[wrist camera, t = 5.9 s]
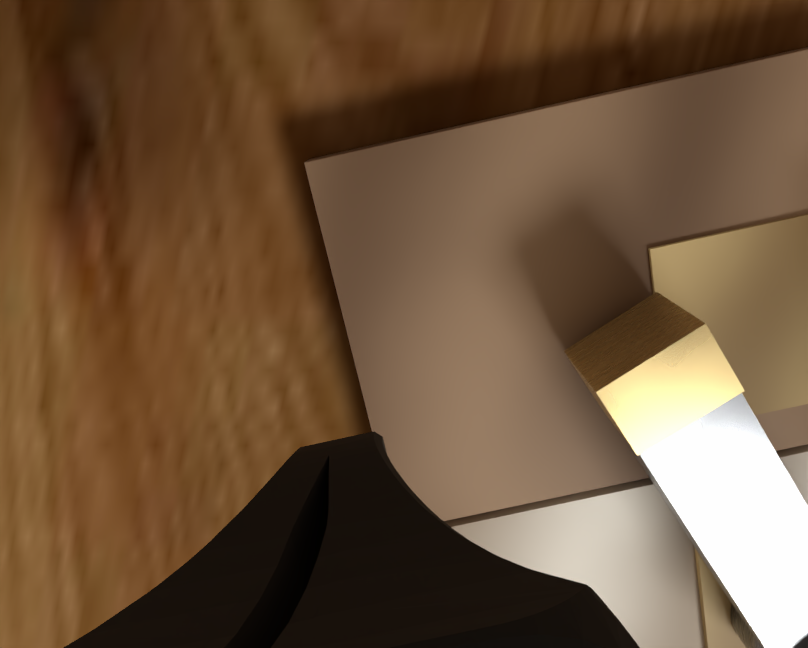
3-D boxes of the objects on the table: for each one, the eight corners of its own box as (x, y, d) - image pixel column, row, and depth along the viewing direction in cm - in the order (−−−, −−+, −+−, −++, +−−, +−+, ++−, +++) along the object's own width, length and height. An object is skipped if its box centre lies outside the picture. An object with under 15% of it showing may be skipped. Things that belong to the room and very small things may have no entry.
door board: (1001, 3, 15) (1163, -24, 12) (978, 647, 20) (1088, 745, 17) (308, 159, 15) (292, 172, 12) (457, 753, 20) (471, 868, 17)
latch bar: (858, 615, 18) (941, 702, 15) (760, 669, 18) (824, 762, 16) (664, 283, 15) (724, 320, 12) (552, 354, 15) (588, 404, 13)
